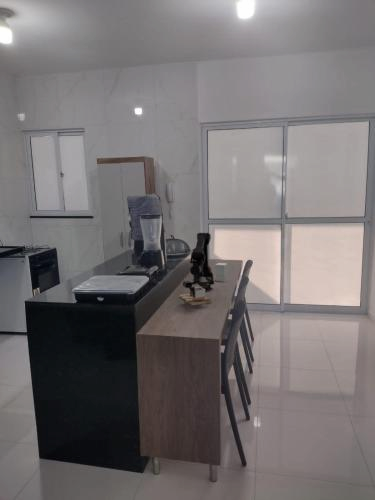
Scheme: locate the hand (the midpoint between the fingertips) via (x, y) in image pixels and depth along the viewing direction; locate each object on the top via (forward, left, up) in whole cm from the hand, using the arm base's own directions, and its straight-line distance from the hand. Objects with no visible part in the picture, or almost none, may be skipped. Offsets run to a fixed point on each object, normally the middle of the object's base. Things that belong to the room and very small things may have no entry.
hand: (198, 296), depth 226 cm
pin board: (-5, 0, -3) cm, 6 cm away
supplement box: (-40, +37, -3) cm, 55 cm away
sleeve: (0, 0, -1) cm, 1 cm away
